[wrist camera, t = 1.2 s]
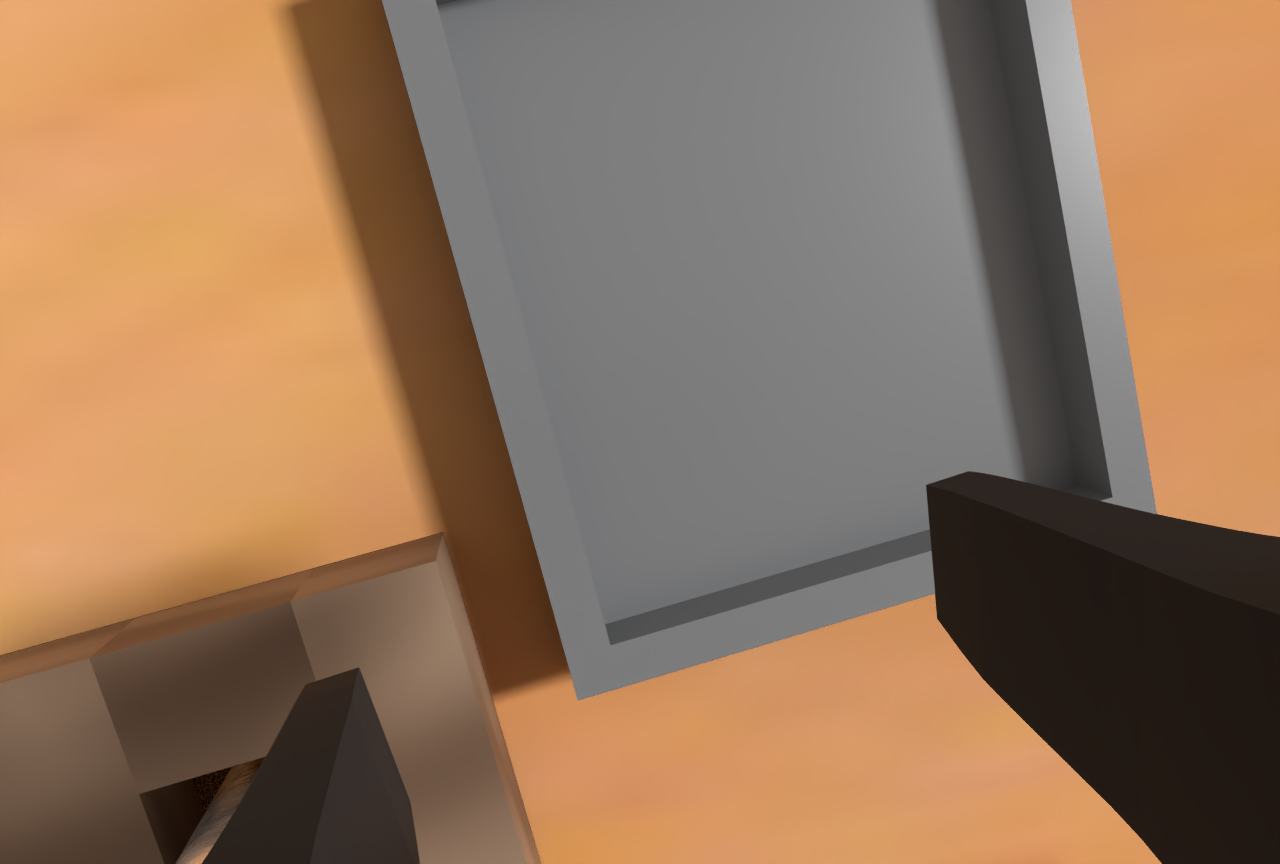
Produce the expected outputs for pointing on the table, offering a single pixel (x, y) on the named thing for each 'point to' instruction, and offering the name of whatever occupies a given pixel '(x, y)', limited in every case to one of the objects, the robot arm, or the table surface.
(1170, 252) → the table surface
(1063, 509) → the robot arm
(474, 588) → the table surface
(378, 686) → the pin block
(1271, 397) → the table surface
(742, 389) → the tray
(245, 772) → the pin
